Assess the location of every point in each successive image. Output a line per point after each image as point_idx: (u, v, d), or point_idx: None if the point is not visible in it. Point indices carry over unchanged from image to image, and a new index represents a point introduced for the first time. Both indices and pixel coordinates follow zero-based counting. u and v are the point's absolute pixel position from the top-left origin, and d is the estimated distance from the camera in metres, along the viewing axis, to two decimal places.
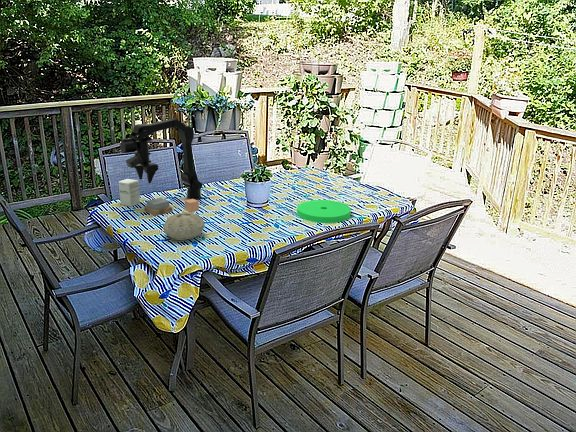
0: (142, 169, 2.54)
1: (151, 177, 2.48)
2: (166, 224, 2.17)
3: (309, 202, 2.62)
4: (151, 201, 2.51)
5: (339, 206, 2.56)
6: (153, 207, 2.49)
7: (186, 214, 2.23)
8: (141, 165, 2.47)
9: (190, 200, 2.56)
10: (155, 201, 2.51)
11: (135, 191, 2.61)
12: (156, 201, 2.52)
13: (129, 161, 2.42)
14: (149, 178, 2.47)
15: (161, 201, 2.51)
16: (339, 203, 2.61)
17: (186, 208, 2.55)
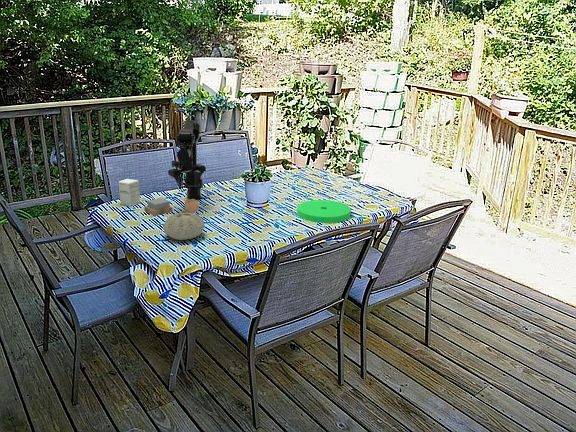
0: (197, 176, 2.53)
1: (178, 183, 2.47)
2: (166, 224, 2.17)
3: (309, 202, 2.62)
4: (152, 201, 2.51)
5: (339, 206, 2.56)
6: (153, 207, 2.49)
7: (186, 214, 2.23)
8: None
9: (190, 200, 2.56)
10: (155, 201, 2.52)
11: (135, 191, 2.61)
12: (157, 201, 2.52)
13: None
14: (177, 183, 2.48)
15: (161, 201, 2.51)
16: (339, 203, 2.61)
17: (186, 208, 2.55)
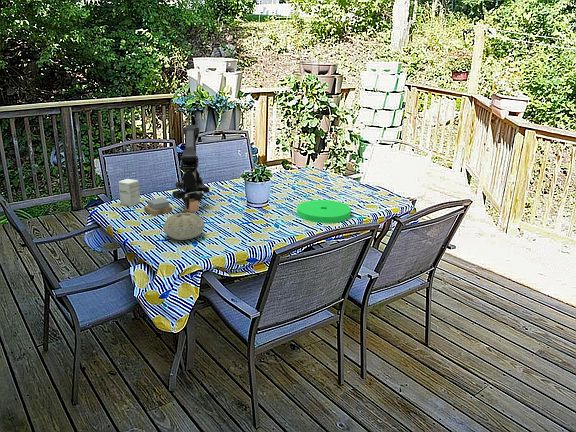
0: (197, 198, 2.56)
1: (185, 204, 2.52)
2: (166, 224, 2.17)
3: (309, 202, 2.62)
4: (152, 201, 2.52)
5: (339, 206, 2.56)
6: (152, 207, 2.49)
7: (186, 214, 2.23)
8: None
9: (190, 200, 2.56)
10: (155, 201, 2.52)
11: (135, 191, 2.61)
12: (157, 200, 2.52)
13: None
14: (185, 204, 2.53)
15: (161, 201, 2.51)
16: (339, 203, 2.61)
17: None
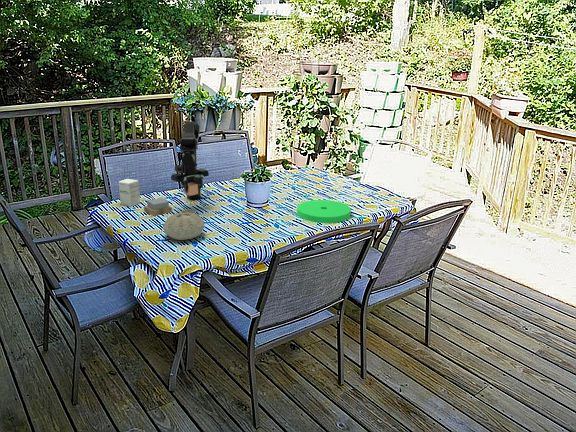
0: (197, 181, 2.53)
1: (185, 187, 2.49)
2: (166, 224, 2.17)
3: (309, 202, 2.62)
4: (151, 201, 2.51)
5: (339, 206, 2.56)
6: (152, 207, 2.49)
7: (186, 214, 2.23)
8: None
9: (189, 183, 2.53)
10: (155, 201, 2.51)
11: (135, 191, 2.61)
12: (156, 201, 2.52)
13: None
14: (184, 187, 2.50)
15: (161, 201, 2.51)
16: (339, 203, 2.61)
17: (185, 192, 2.52)
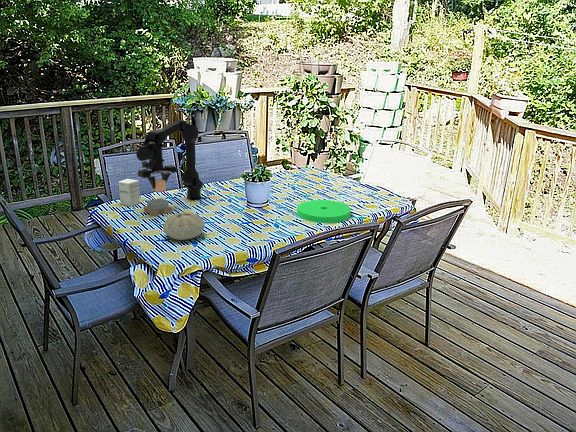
0: (164, 178, 2.49)
1: (152, 183, 2.46)
2: (166, 224, 2.17)
3: (309, 202, 2.62)
4: (151, 201, 2.51)
5: (339, 206, 2.56)
6: (151, 207, 2.48)
7: (186, 214, 2.23)
8: None
9: (156, 179, 2.49)
10: (154, 201, 2.51)
11: (135, 191, 2.61)
12: (156, 201, 2.52)
13: None
14: (151, 184, 2.46)
15: (160, 202, 2.51)
16: (339, 203, 2.61)
17: None
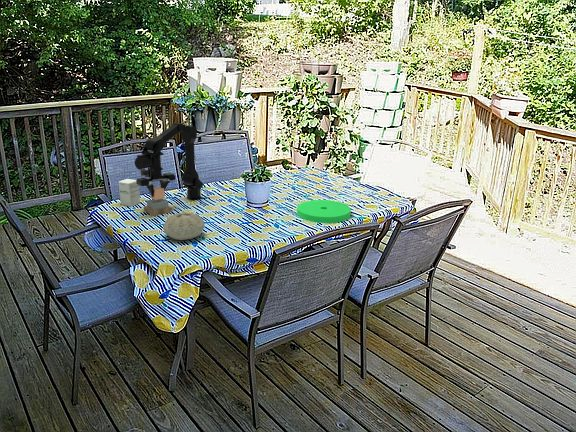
0: (163, 185, 2.50)
1: (150, 191, 2.47)
2: (166, 224, 2.17)
3: (309, 202, 2.62)
4: (151, 201, 2.51)
5: (339, 206, 2.56)
6: (151, 207, 2.48)
7: (186, 214, 2.23)
8: (149, 179, 2.47)
9: (155, 187, 2.50)
10: (154, 201, 2.51)
11: (135, 191, 2.61)
12: (156, 201, 2.52)
13: None
14: (150, 191, 2.48)
15: (160, 201, 2.51)
16: (339, 203, 2.61)
17: (151, 196, 2.50)
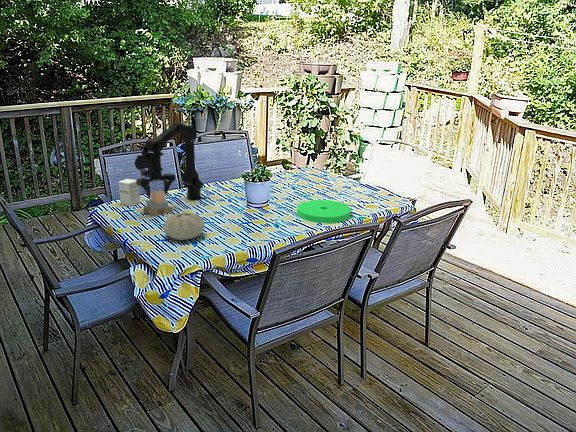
0: (166, 185, 2.52)
1: (147, 192, 2.46)
2: (166, 224, 2.17)
3: (309, 202, 2.61)
4: (150, 201, 2.51)
5: (339, 206, 2.56)
6: (151, 207, 2.48)
7: (186, 214, 2.23)
8: None
9: (156, 191, 2.51)
10: None
11: (135, 191, 2.61)
12: None
13: None
14: (146, 193, 2.47)
15: None
16: (339, 203, 2.61)
17: (152, 199, 2.51)
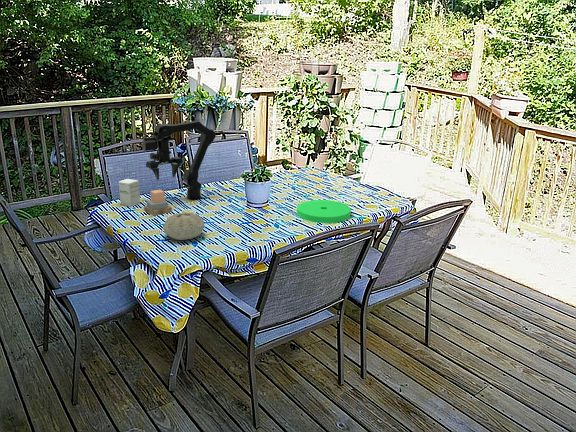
0: (174, 168, 2.64)
1: (156, 175, 2.58)
2: (166, 224, 2.17)
3: (309, 202, 2.61)
4: (150, 201, 2.51)
5: (339, 206, 2.56)
6: (150, 207, 2.49)
7: (186, 214, 2.23)
8: None
9: (156, 190, 2.51)
10: None
11: (135, 191, 2.61)
12: None
13: None
14: (155, 175, 2.59)
15: (160, 202, 2.51)
16: (339, 203, 2.61)
17: (152, 199, 2.51)
